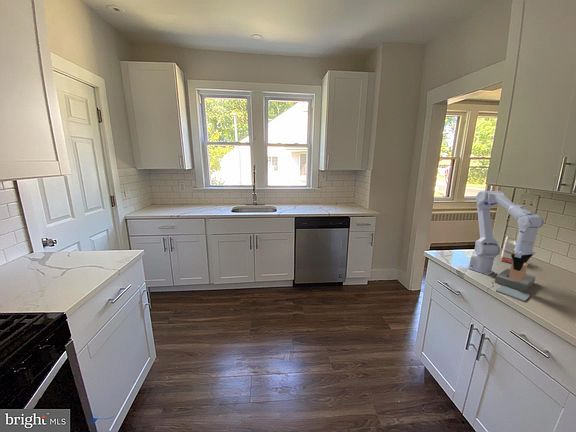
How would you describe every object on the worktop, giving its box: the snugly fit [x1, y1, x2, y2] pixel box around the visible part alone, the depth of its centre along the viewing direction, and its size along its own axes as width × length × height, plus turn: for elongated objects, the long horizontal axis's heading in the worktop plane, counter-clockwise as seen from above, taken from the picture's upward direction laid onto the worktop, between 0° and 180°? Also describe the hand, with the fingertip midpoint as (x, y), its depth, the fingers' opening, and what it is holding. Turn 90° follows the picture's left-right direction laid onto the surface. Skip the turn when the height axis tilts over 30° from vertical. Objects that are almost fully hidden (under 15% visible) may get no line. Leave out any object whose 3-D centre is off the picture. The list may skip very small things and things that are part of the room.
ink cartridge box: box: [500, 235, 517, 264], centre depth 146 cm, size 9×5×15 cm, turn 141°
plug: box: [509, 261, 529, 282], centre depth 113 cm, size 4×4×8 cm
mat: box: [495, 285, 531, 302], centre depth 111 cm, size 10×8×1 cm
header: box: [494, 268, 536, 293], centre depth 121 cm, size 11×16×4 cm
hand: (518, 268), depth 113 cm, fingers closed on plug, 4 cm apart
